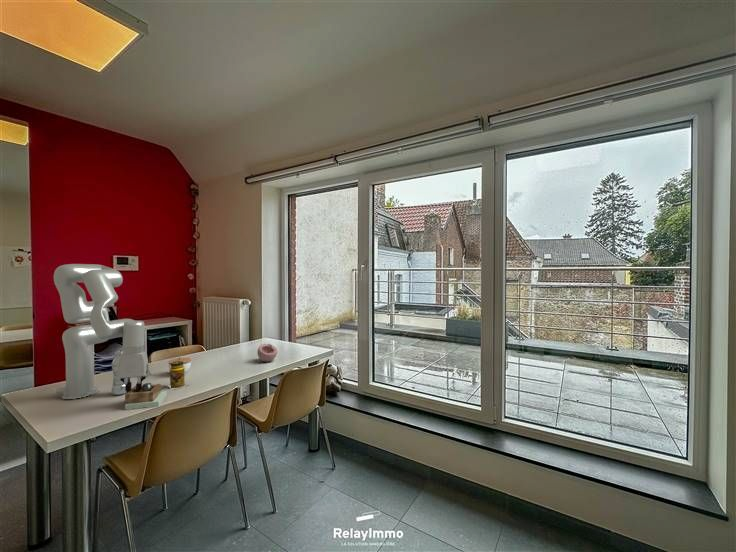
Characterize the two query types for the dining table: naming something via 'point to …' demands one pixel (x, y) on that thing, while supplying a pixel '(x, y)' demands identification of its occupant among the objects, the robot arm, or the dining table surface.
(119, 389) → the plastic bottle
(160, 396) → the peg stand
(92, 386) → the robot arm
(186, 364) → the white round bowl
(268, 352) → the pink round bowl
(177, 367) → the condiment
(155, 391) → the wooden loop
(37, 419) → the dining table surface
